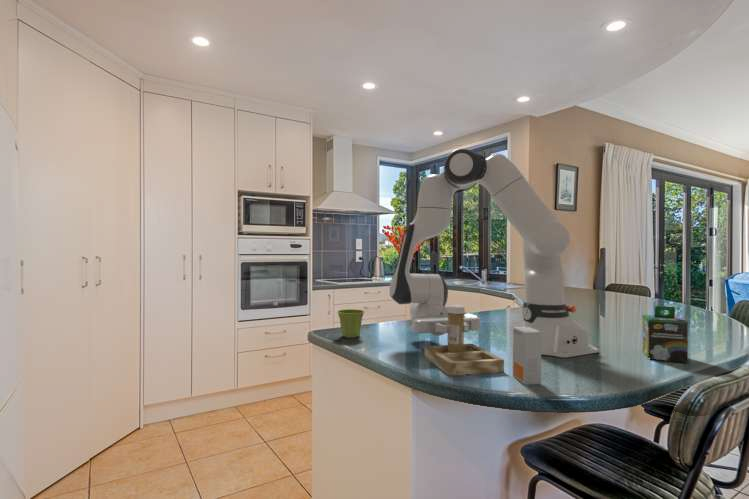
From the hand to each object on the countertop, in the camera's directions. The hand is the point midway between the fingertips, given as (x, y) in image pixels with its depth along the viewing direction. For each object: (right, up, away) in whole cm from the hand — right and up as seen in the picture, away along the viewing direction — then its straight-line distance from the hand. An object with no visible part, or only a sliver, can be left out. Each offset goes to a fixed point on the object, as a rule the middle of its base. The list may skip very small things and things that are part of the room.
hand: (457, 329), depth 107 cm
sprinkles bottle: (0, -7, +1) cm, 7 cm away
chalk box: (+60, -9, +4) cm, 60 cm away
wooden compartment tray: (+1, -9, -3) cm, 9 cm away
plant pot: (-31, -8, +29) cm, 43 cm away
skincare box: (+13, -9, -15) cm, 22 cm away
